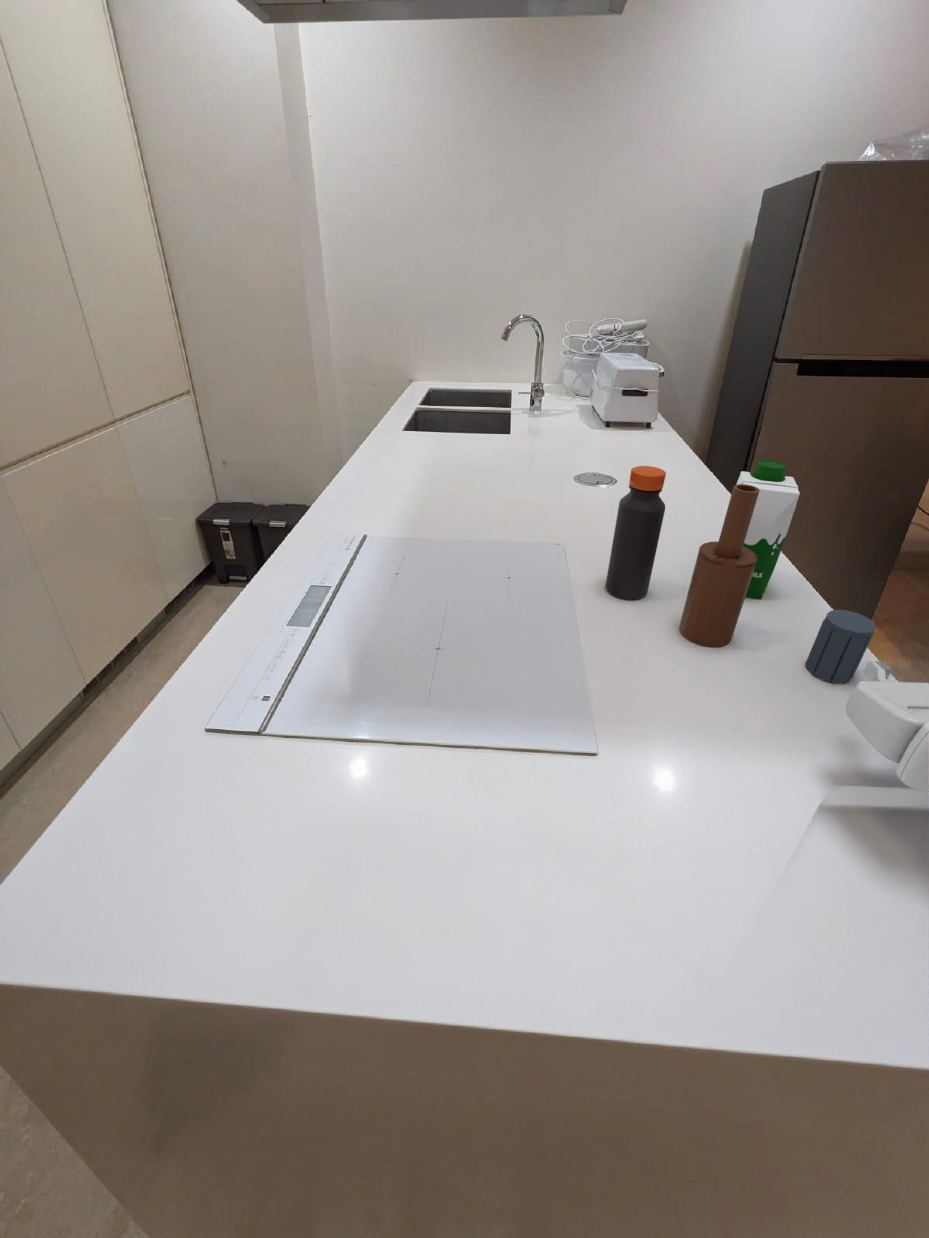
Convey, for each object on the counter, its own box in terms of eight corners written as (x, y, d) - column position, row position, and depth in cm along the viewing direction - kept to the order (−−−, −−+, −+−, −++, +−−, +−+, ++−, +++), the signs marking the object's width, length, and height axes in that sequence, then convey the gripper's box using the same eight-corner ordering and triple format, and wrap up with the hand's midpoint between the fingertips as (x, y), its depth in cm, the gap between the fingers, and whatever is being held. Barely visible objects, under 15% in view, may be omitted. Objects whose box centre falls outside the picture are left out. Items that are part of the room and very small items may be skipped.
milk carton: (763, 578, 99) (801, 463, 89) (768, 603, 92) (810, 481, 81) (709, 569, 102) (740, 456, 91) (710, 593, 95) (743, 474, 84)
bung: (838, 659, 80) (860, 610, 75) (859, 684, 75) (885, 633, 71) (798, 658, 80) (819, 608, 75) (818, 683, 75) (840, 631, 71)
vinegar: (633, 605, 91) (658, 482, 80) (596, 590, 95) (615, 470, 84) (654, 590, 95) (681, 471, 84) (618, 576, 99) (639, 460, 88)
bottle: (703, 615, 89) (743, 475, 77) (742, 639, 83) (790, 493, 72) (668, 626, 86) (704, 483, 74) (706, 652, 81) (750, 502, 69)
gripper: (1163, 741, 48) (1031, 646, 60) (916, 733, 49) (832, 640, 60) (1116, 793, 52) (999, 693, 64) (885, 785, 52) (812, 687, 64)
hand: (916, 667), depth 62 cm, fingers open, 8 cm apart
